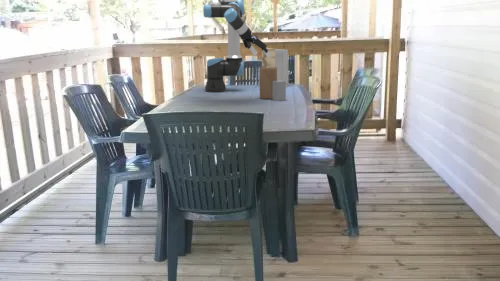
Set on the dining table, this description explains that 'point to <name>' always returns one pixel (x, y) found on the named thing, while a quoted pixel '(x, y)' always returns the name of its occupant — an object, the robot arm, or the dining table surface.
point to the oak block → (268, 59)
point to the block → (267, 81)
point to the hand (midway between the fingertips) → (262, 55)
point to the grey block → (279, 90)
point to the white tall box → (281, 64)
